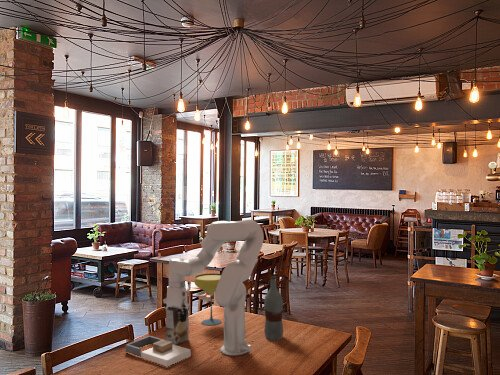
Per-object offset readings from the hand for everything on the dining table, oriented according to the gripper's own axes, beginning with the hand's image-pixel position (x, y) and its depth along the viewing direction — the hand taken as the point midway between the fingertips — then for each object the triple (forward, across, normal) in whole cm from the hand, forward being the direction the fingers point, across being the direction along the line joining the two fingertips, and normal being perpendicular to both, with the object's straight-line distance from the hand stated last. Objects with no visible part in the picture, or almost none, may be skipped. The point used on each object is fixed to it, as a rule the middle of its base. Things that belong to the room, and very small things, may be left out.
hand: (176, 319), depth 204 cm
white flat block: (+10, -11, +17) cm, 23 cm away
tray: (+10, +2, +17) cm, 20 cm away
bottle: (+9, -37, -30) cm, 49 cm away
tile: (+7, -9, +17) cm, 20 cm away
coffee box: (+11, -1, 0) cm, 11 cm away
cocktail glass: (+10, +4, -31) cm, 33 cm away
